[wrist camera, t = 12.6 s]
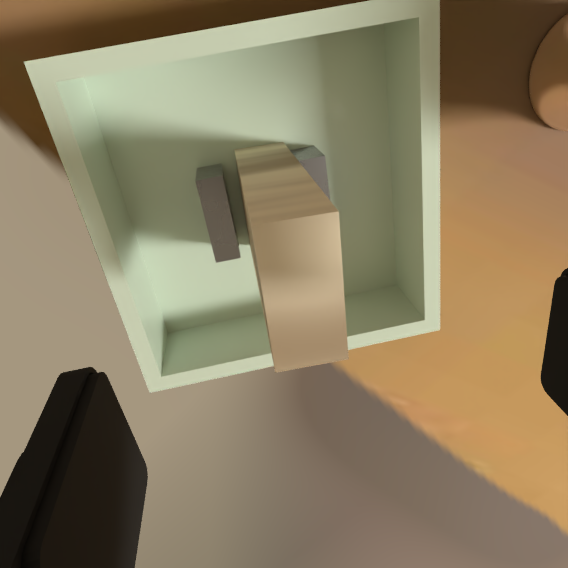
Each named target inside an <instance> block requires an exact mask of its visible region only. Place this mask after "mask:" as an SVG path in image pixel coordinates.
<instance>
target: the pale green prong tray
mask: <svg viewBox="0 0 568 568" xmlns="http://www.w3.org/2000/svg"><path fill="white" fill-rule="evenodd" d="M24 64H25V67H26V69H27V72H28V75H29V77H30V80H31V82H32V85H33V88H34V90H35V93H36V96H37V98H38V101H39V103H40V106H41V109H42V111H43V114H44V117H45V119H46V122H47V124H48V127H49V130H50V132H51V135H52V138H53V140H54V143H55V145H56V148H57V151H58V153H59V156H60V159H61V161H62V164H63V166H64V169H65V172H66V174H67V177H68V180H69V182H70V185H71V187H72V190H73V192H74V195H75V198H76V200H77V203H78V206H79V208H80V211H81V213H82V216H83V219H84V221H85V224H86V227H87V229H88V232H89V234H90V237H91V240H92V242H93V245H94V247H95V250H96V253H97V255H98V258H99V261H100V263H101V266H102V268H103V271H104V274H105V277H106V278H107V282H108V284H109V287H110V289H111V292H112V295H113V297H114V300H115V303H116V305H117V308H118V311H119V313H120V316H121V318H122V321H123V324H124V326H125V329H126V332H127V334H128V337H129V339H130V342H131V345H132V347H133V350H134V352H135V355H136V358H137V361H138V363H139V366H140V368H141V371H142V373H143V376H144V379H145V382H146V384H147V387H148V389H149V392H150V393H151V392H156V391H161V390H165V389H170V388H174V387H179V386H183V385H188V384H193V383H197V382H202V381H206V380H211V379H216V378H220V377H225V376H229V375H234V374H239V373H244V372H248V371H252V370H257V369H262V368H266V367H271V366H274V364H273V359H272V354H271V349H270V343H269V338H268V333H267V328H266V323H265V318H264V313H263V308H262V303H261V298H260V293H259V288H258V283H257V278H256V273H255V268H254V263H253V258H252V253H251V248H250V243H249V237H248V231H247V224H246V218H245V212H244V206H243V200H242V194H241V188H240V182H239V176H238V170H237V164H236V158H235V152H234V149H240V148H247V147H253V146H260V145H267V144H273V143H280V142H284V144H285V145H286V146H287V147H288V149H289V150H293V149H298V148H304V147H309V146H315V147H316V148H317V149H318V150H319V151H321V152H322V153H323V154H324V155H325V160H326V168H327V177H328V186H329V194H330V201H331V202H332V203H333V205H334V206H335V207H336V208H337V210H338V211H339V222H340V237H341V252H342V267H343V282H344V297H345V312H346V327H347V342H348V350H350V349H354V348H359V347H364V346H368V345H373V344H377V343H382V342H387V341H391V340H396V339H400V338H405V337H410V336H414V335H419V334H424V333H428V332H433V331H437V330H440V0H370V1H364V2H358V3H353V4H347V5H341V6H336V7H330V8H325V9H319V10H313V11H308V12H302V13H296V14H291V15H285V16H279V17H274V18H268V19H262V20H257V21H251V22H245V23H240V24H234V25H228V26H223V27H217V28H211V29H206V30H200V31H195V32H189V33H183V34H178V35H172V36H166V37H161V38H155V39H149V40H144V41H138V42H132V43H127V44H121V45H115V46H110V47H104V48H98V49H93V50H87V51H81V52H76V53H70V54H64V55H59V56H53V57H48V58H42V59H36V60H31V61H25V62H24ZM220 163H221V164H222V168H223V173H224V177H225V182H226V187H227V191H228V196H229V200H230V205H231V209H232V214H233V218H234V223H235V227H236V232H237V236H238V242H239V249H240V256H241V258H238V259H233V260H228V261H223V262H218V263H216V261H215V257H214V253H213V249H212V245H211V241H210V237H209V233H208V229H207V225H206V221H205V217H204V213H203V209H202V205H201V201H200V197H199V194H198V190H197V186H196V182H195V179H196V171H197V168H200V167H205V166H210V165H215V164H220Z"/></svg>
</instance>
